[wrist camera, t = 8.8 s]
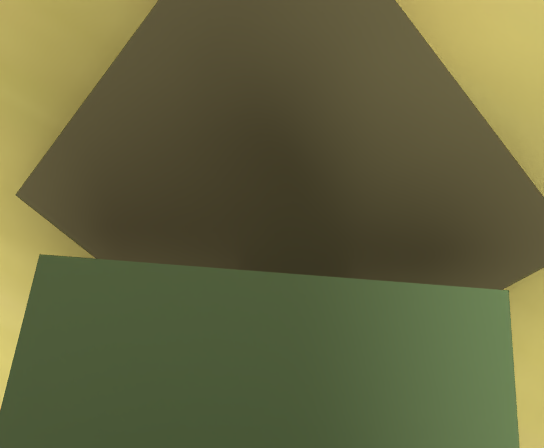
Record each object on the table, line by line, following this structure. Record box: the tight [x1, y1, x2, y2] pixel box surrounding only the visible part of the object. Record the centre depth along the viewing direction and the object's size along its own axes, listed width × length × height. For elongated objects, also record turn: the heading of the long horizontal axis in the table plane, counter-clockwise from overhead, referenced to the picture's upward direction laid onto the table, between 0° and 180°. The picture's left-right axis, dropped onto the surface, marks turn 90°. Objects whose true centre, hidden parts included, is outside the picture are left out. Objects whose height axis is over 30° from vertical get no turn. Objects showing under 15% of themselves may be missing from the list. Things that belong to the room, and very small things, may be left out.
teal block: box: [0, 254, 519, 448], centre depth 10 cm, size 5×5×12 cm
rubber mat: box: [16, 0, 544, 290], centre depth 16 cm, size 16×15×1 cm
